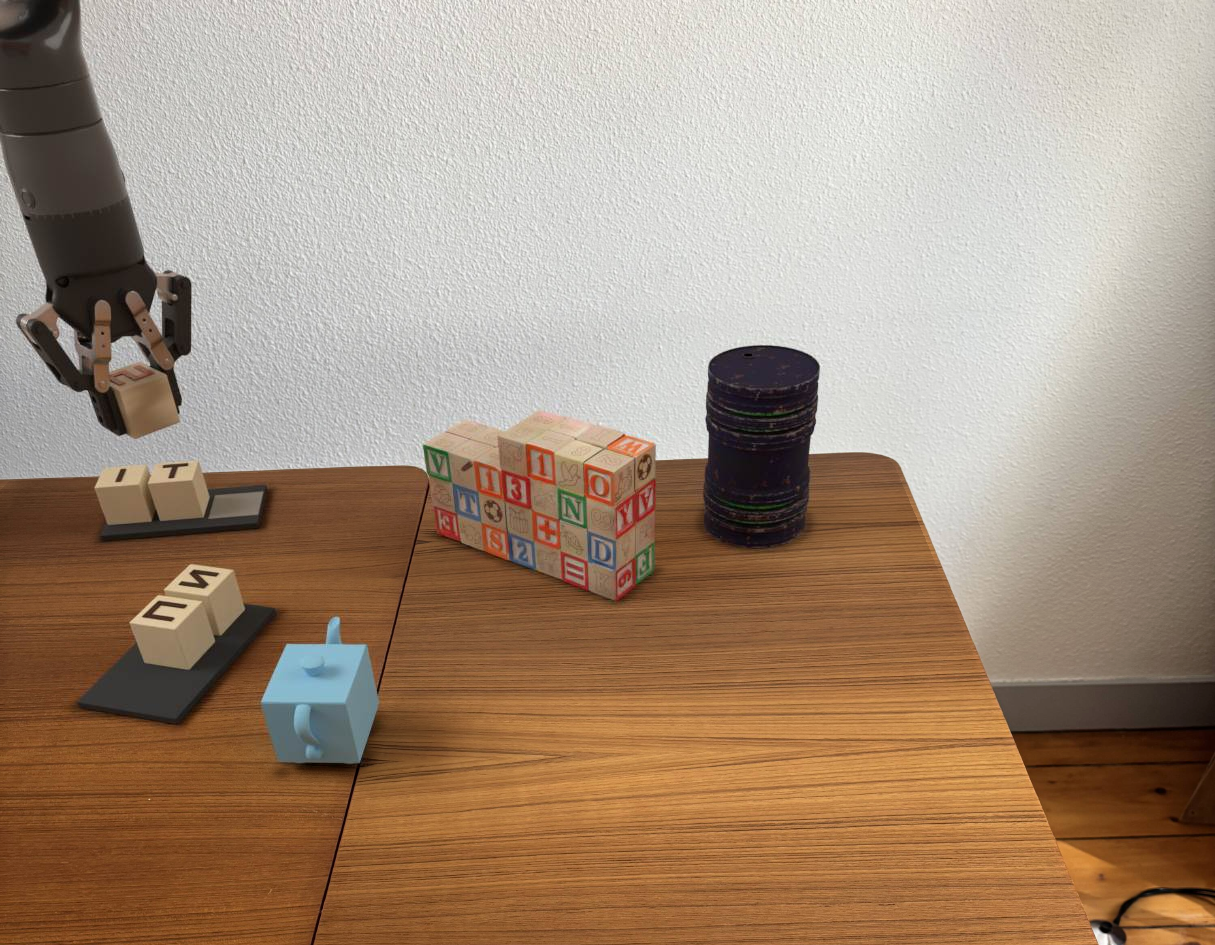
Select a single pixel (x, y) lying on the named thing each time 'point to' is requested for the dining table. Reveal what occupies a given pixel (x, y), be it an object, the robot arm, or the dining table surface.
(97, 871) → the dining table surface
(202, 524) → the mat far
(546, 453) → the stack of blocks
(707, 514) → the storage jar
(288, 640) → the dining table surface
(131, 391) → the tile
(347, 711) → the teapot
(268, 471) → the dining table surface
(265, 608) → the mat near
